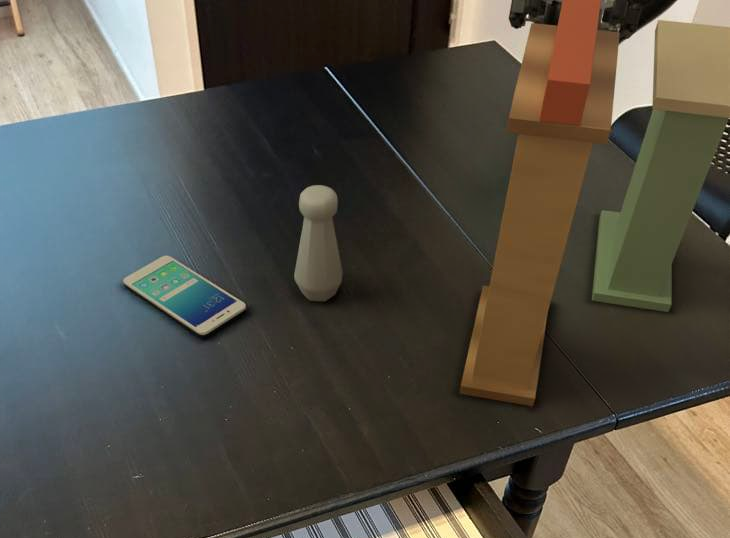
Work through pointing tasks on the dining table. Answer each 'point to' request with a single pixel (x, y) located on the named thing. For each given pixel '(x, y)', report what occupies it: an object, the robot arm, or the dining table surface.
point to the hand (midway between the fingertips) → (577, 2)
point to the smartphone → (185, 296)
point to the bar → (571, 62)
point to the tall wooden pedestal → (535, 221)
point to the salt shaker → (318, 245)
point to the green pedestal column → (666, 166)
